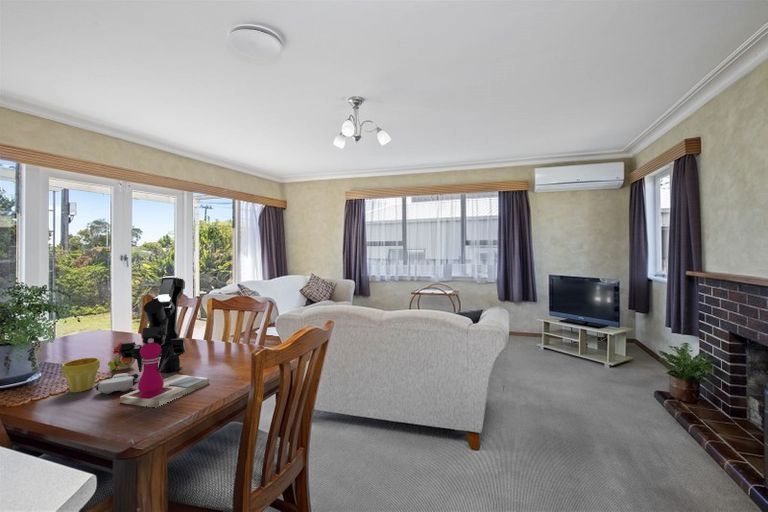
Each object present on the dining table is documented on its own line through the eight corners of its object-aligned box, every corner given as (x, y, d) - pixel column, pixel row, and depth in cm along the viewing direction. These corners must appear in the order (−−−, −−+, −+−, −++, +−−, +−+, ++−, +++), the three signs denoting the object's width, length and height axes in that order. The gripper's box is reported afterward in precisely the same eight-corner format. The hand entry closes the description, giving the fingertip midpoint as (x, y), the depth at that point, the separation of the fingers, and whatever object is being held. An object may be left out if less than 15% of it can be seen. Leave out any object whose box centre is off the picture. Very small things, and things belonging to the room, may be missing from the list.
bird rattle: (129, 370, 157) (105, 365, 153) (141, 345, 159) (118, 339, 155) (128, 375, 152) (103, 369, 147) (141, 349, 154) (116, 343, 149)
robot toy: (102, 387, 135) (91, 398, 122) (102, 374, 135) (91, 385, 122) (142, 381, 140) (136, 392, 127) (141, 369, 141) (136, 378, 127)
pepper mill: (168, 396, 123) (167, 337, 123) (144, 404, 117) (144, 342, 117) (157, 392, 127) (156, 334, 127) (133, 399, 121) (133, 338, 120)
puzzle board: (120, 402, 119) (120, 395, 119) (177, 379, 140) (176, 373, 140) (156, 408, 114) (156, 400, 114) (209, 383, 135) (209, 377, 135)
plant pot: (59, 397, 124) (58, 368, 123) (65, 387, 132) (65, 360, 132) (98, 390, 129) (97, 362, 129) (101, 381, 138) (101, 355, 138)
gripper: (120, 319, 122) (109, 361, 112) (183, 315, 128) (178, 355, 118) (128, 337, 130) (118, 378, 119) (187, 333, 136) (182, 372, 126)
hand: (149, 370), depth 121 cm, fingers closed on pepper mill, 5 cm apart
